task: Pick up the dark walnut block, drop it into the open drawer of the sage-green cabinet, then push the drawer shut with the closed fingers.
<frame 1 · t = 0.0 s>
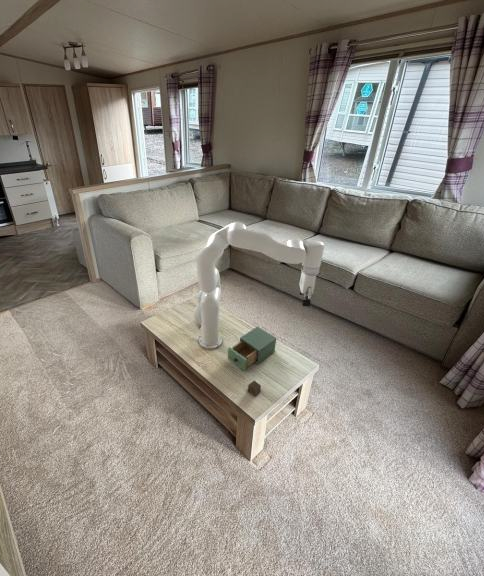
hand: (304, 300, 142), 31 cm above the table, tool pointing down, fingers open, 9 cm apart
cabinet: (256, 351, 158), on the table
block: (254, 391, 136), on the table
drawer: (244, 354, 150), point 5 cm above the table, slide at 8.0 cm
soap bottle: (205, 321, 181), on the table
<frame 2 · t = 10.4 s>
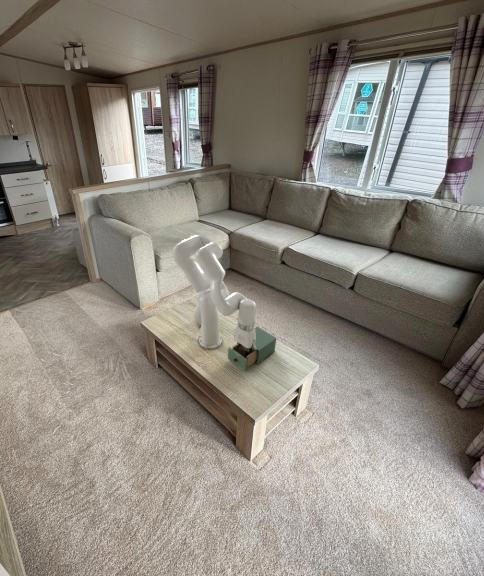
hand: (244, 352, 150), 5 cm above the table, tool pointing down, fingers closed on block, 4 cm apart
block: (244, 352, 150), point 5 cm above the table, touching gripper
everything else where it was.
when the fingers open (8 cm above the table, at t = 21.8 s): block drops 6 cm, resting on drawer.
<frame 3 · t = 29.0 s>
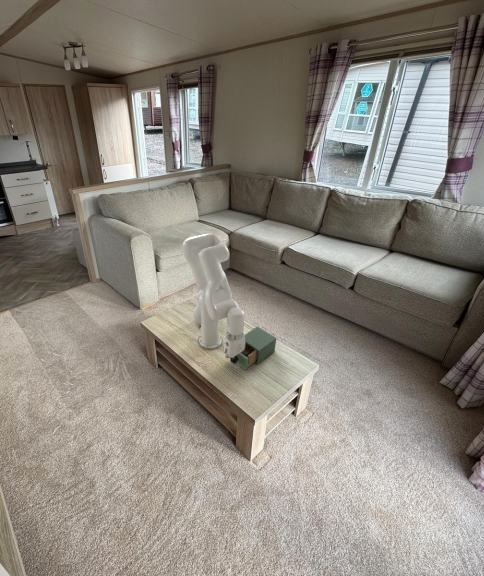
hand: (233, 361, 146), 4 cm above the table, tool pointing down, fingers closed
block: (245, 356, 152), point 2 cm above the table, touching drawer
drawer: (245, 353, 151), point 5 cm above the table, slide at 7.1 cm, touching block, gripper
everything else where it was.
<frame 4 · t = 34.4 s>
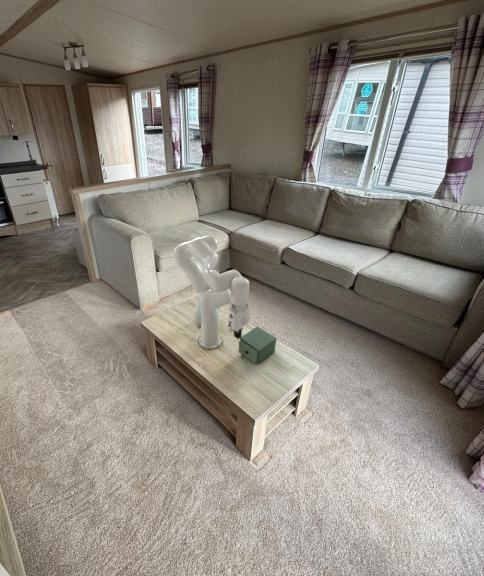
hand: (237, 336, 140), 19 cm above the table, tool pointing down, fingers closed
block: (254, 350, 156), point 2 cm above the table, touching drawer
drawer: (254, 346, 154), point 5 cm above the table, slide at 0.0 cm, touching block, cabinet
everything else where it was.
at the end: block inside the target area in the cabinet (2.2 cm from its centre), point 2.0 cm above the cabinet's base; drawer slide at 0.0 cm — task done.
